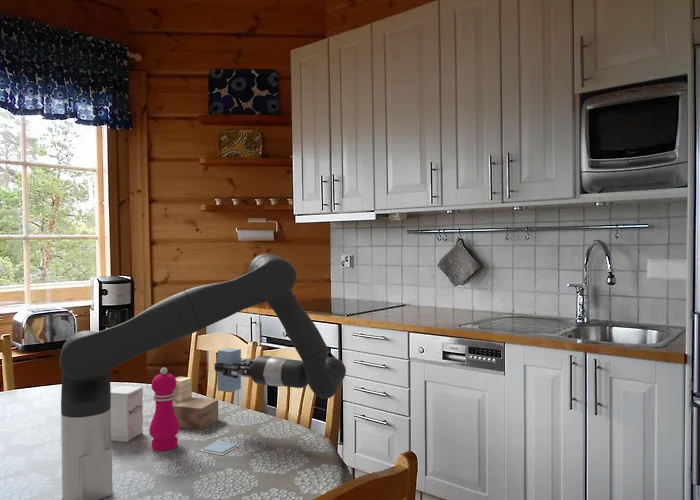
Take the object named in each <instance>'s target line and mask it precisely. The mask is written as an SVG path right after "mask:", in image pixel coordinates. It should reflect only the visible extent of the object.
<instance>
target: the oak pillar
mask: <svg viewBox="0 0 700 500" xmlns="http://www.w3.org/2000/svg"><path fill="white" fill-rule="evenodd" d="M175 379H176V388H175V389H174V390H173V392H174V393H175V394H174V396H175V397H174V399H173V406H174V405H176V404H178V403H180V402H183V401H185V400H187V399H189V398H191V397H192V398H193V393H192V392H193V387H192V383H193V382H192V381H193V380H192V379H193V378H192V377H188V376H187V377H186V376H177V377H175Z"/></svg>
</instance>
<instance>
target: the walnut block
mask: <svg viewBox="0 0 700 500" xmlns="http://www.w3.org/2000/svg"><path fill="white" fill-rule="evenodd" d="M173 409H174V413H175V415H176V417H177V419H178V422H179V428H185V429H192V430H203V429H205V428H207V427H208V426H210V425H212V424H214V423H216V422H217V421H219V399H215V398H202V397H193V396H192V397H191V398H189V399H187V400H185V401H183V402H180V403H178V404H176V405H174V406H173Z"/></svg>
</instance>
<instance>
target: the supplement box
mask: <svg viewBox="0 0 700 500" xmlns="http://www.w3.org/2000/svg"><path fill="white" fill-rule="evenodd" d="M143 393H144V392H143V386H126V385H125V386H123V385H122V386H121V385H120V386H116V387H114V388H111V442H124V443H128V442H130V440H132V439H134V438H136V437H137V436H139V435H141V434H143V432H144V429H143V427H144V413H143V412H144V411H143V410H144V406H143V405H144V403H143V402H144V401H143V397H144V395H143Z"/></svg>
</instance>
